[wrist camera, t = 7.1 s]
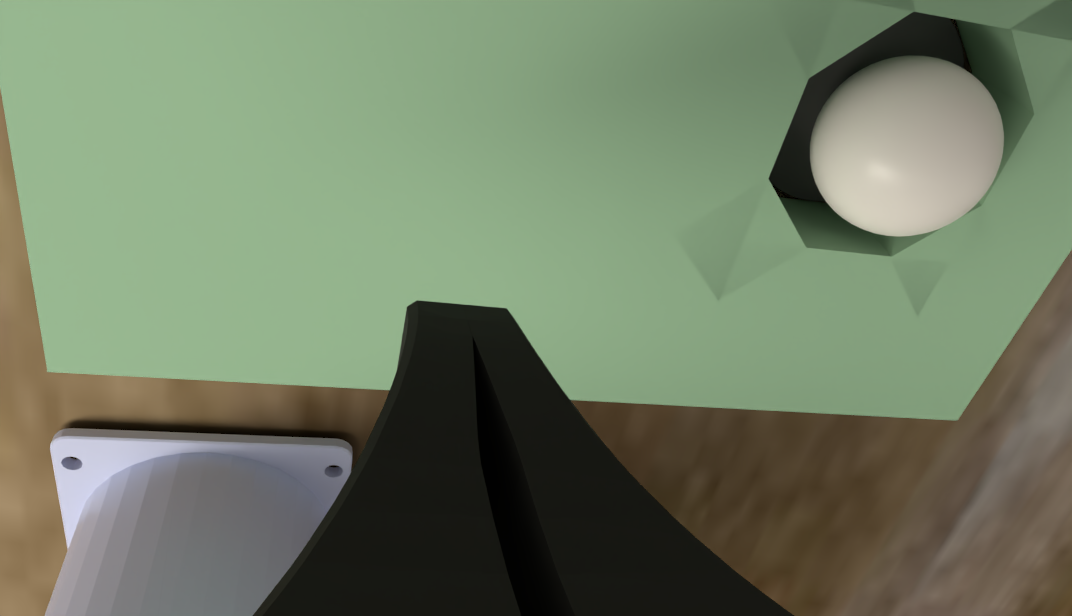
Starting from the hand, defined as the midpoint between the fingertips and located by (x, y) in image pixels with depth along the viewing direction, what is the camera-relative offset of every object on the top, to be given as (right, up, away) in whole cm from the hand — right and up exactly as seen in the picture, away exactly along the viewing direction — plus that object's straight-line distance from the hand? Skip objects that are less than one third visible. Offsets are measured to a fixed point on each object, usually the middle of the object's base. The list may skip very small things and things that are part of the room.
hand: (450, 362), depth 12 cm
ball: (+9, +4, +8) cm, 13 cm away
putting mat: (+3, +6, +8) cm, 10 cm away
